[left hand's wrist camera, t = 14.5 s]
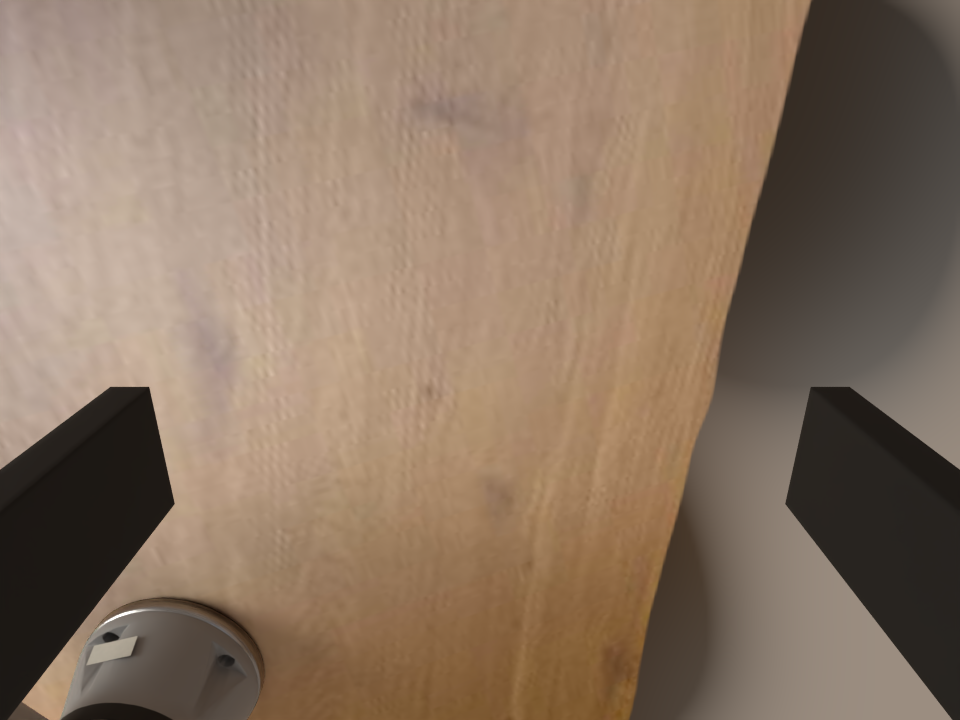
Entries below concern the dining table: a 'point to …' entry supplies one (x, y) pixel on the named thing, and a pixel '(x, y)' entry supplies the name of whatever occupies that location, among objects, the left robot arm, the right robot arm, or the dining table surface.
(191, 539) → the dining table surface
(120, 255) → the dining table surface
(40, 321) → the dining table surface
